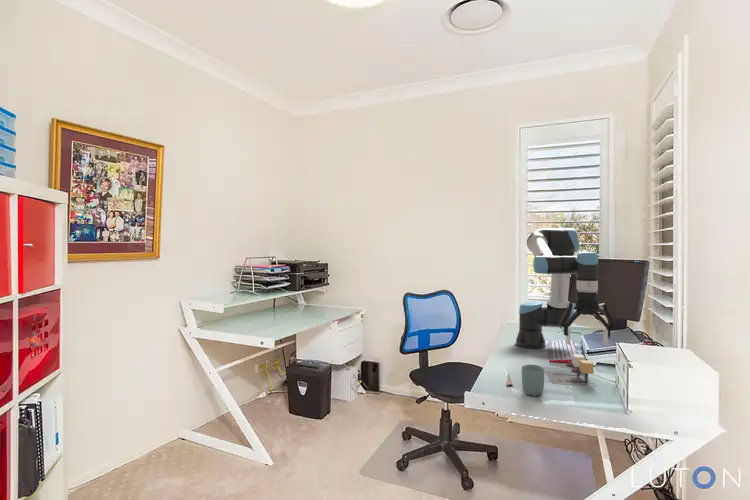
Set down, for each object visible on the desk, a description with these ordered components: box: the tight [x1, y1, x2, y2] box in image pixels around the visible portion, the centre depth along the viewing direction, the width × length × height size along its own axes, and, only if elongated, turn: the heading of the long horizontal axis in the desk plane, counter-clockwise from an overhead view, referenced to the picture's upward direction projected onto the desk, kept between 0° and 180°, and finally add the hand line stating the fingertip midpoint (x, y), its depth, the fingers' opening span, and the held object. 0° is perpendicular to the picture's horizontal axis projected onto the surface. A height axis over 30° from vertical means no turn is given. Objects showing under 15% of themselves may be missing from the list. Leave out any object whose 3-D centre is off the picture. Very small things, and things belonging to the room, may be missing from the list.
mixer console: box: [544, 370, 597, 387], centre depth 165 cm, size 16×16×1 cm
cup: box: [521, 364, 545, 397], centre depth 152 cm, size 8×8×10 cm
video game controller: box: [565, 359, 582, 373], centre depth 177 cm, size 10×5×7 cm, turn 169°
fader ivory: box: [571, 353, 586, 375], centre depth 168 cm, size 4×4×8 cm
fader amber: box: [579, 359, 595, 382], centre depth 160 cm, size 4×4×8 cm
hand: (586, 344), depth 160 cm, fingers open, 13 cm apart
